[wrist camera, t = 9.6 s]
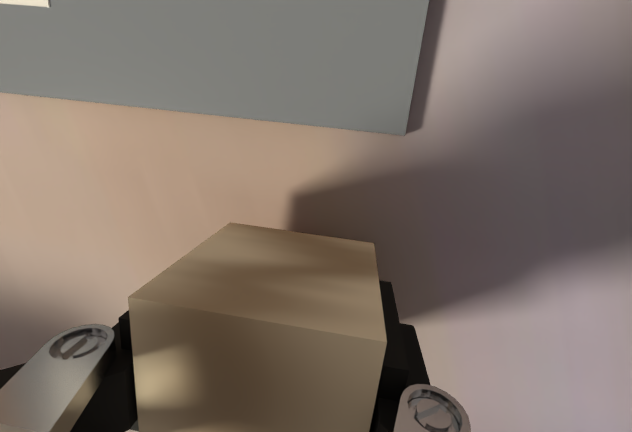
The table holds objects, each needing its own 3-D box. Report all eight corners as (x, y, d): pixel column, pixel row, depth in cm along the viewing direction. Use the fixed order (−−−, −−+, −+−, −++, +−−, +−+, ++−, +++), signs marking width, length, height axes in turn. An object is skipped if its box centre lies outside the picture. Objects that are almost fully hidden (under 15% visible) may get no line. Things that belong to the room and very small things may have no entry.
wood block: (373, 243, 10) (387, 342, 6) (353, 365, 12) (349, 528, 7) (229, 222, 11) (127, 297, 6) (227, 342, 12) (143, 479, 7)
